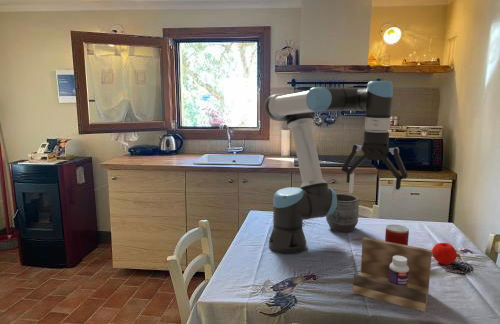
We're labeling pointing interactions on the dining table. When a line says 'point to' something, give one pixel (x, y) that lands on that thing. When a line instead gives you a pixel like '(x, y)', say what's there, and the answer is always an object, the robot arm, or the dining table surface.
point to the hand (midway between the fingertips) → (371, 195)
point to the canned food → (397, 234)
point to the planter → (344, 213)
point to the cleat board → (377, 273)
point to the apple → (444, 253)
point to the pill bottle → (399, 271)
